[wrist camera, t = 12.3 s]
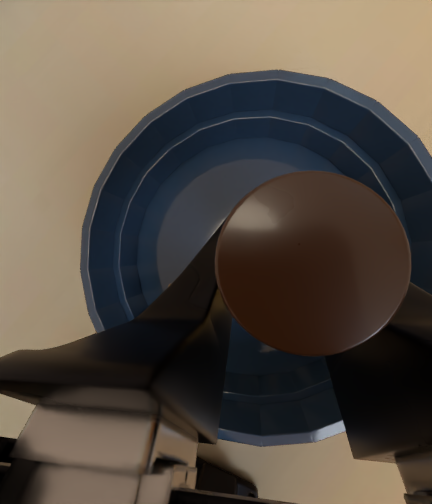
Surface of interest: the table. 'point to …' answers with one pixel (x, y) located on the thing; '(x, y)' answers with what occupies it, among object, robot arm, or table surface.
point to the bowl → (221, 204)
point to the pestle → (312, 263)
